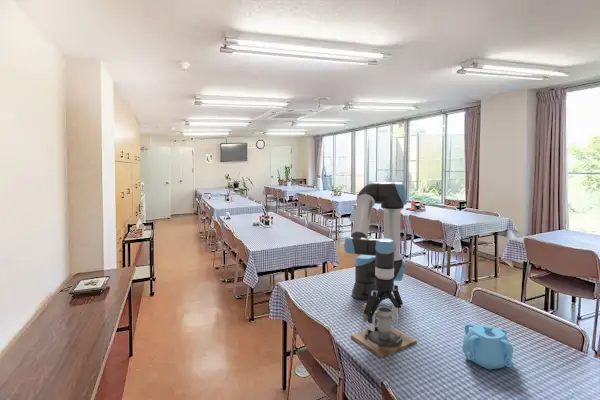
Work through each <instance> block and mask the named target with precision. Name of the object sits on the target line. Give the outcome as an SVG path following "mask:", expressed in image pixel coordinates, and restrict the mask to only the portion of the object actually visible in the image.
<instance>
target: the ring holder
mask: <svg viewBox="0 0 600 400" xmlns="http://www.w3.org/2000/svg"><path fill="white" fill-rule="evenodd" d="M350 338H351V339H352V340H354V341H355V342H357V343H358V344H360V345H362V346H363V347H364V348H366V349H367V350H369V351H371V353H373V354H375V355H376V356H377V357H379V358H381V359H384V358H386V357H387V356H390V355H393V354H395V353H397V352H399V351H401V350H405V349H407V348H409V347H411V346H413V345H415V344H417V343H418V341H417V339H415V338H414V337H411V336H410V335H407V334H406V333H404V332H402V331H400V330H398V329H397V328H395V327H393V326H391V330H390V338H389V339H387V340H383V339H381V338H379V335H378V324H377V325H375V331H374V332H373V331H371V330H369V327H367V328H366V329H364V330H360V331H358V332H355V333H352V334H350Z"/></svg>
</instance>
